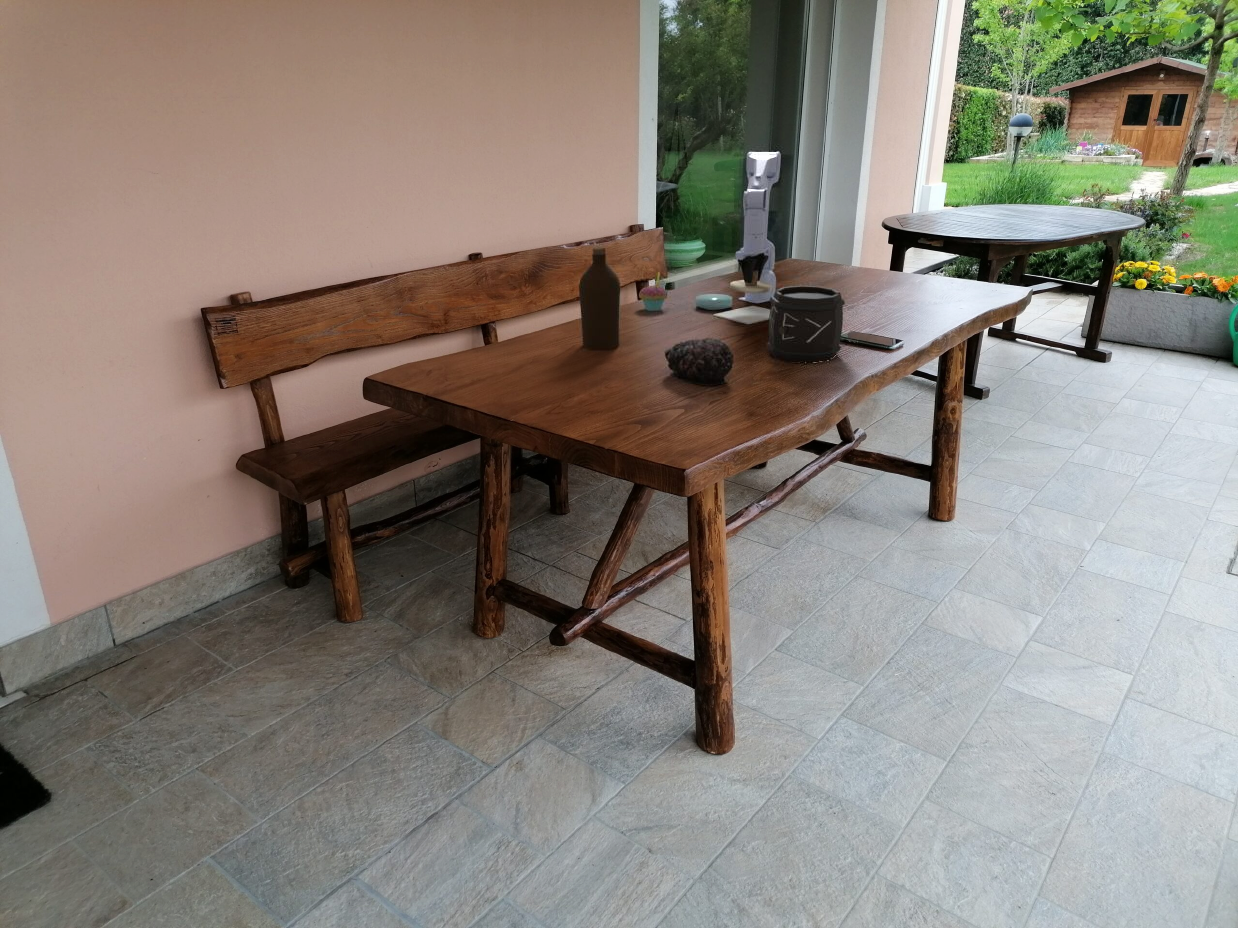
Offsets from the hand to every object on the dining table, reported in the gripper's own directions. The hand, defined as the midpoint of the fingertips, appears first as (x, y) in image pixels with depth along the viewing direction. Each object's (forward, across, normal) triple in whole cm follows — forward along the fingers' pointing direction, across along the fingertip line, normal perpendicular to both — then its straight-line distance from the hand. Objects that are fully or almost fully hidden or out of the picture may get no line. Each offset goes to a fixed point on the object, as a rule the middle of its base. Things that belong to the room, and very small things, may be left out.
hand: (751, 281), depth 256 cm
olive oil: (+10, +53, -10) cm, 55 cm away
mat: (+10, 0, 0) cm, 10 cm away
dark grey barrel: (+10, +27, +34) cm, 45 cm away
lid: (+2, 0, 0) cm, 2 cm away
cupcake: (+10, +12, -27) cm, 31 cm away
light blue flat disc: (+10, -1, -14) cm, 18 cm away
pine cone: (+10, +60, +26) cm, 66 cm away
